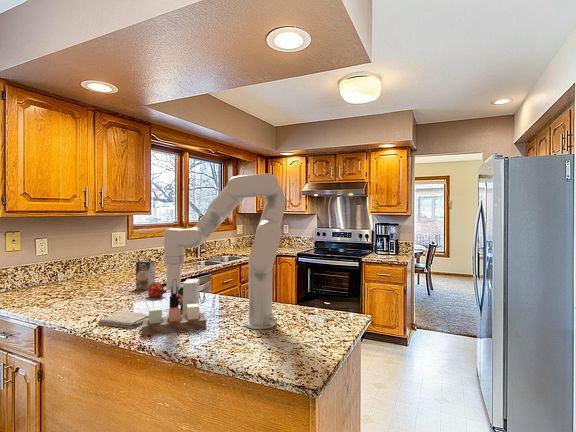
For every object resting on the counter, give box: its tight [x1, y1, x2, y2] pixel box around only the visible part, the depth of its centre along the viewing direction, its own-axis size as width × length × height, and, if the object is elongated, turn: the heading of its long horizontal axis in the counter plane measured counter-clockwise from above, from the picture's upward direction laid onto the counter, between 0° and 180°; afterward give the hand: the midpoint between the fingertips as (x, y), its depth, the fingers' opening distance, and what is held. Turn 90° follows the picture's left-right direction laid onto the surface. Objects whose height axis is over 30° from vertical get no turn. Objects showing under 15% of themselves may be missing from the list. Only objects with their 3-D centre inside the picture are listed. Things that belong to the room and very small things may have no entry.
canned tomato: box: [178, 283, 183, 312], centre depth 155 cm, size 8×8×11 cm
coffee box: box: [135, 259, 156, 290], centre depth 197 cm, size 9×6×16 cm
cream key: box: [187, 303, 200, 320], centre depth 132 cm, size 4×4×5 cm
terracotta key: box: [168, 305, 182, 322], centre depth 129 cm, size 4×4×5 cm
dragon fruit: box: [146, 281, 168, 299], centre depth 176 cm, size 8×8×12 cm
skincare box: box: [182, 278, 200, 315], centre depth 147 cm, size 8×6×15 cm
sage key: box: [148, 306, 163, 324], centre depth 127 cm, size 4×4×5 cm
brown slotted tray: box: [141, 312, 207, 336], centre depth 129 cm, size 23×10×3 cm, turn 110°
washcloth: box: [97, 310, 149, 329], centre depth 136 cm, size 12×18×3 cm, turn 75°
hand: (174, 306), depth 129 cm, fingers closed
